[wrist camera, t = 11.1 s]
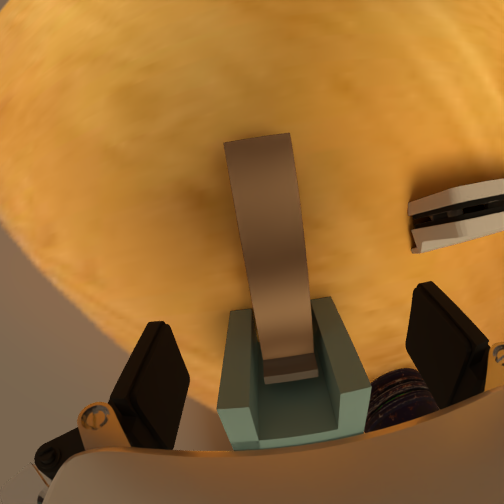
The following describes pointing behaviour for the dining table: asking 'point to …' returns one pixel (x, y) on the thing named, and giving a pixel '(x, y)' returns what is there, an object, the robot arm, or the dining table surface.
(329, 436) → the u-shaped channel piece
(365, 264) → the dining table surface
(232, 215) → the dining table surface
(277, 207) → the brown wooden block
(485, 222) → the grey layered block
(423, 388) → the storage jar
